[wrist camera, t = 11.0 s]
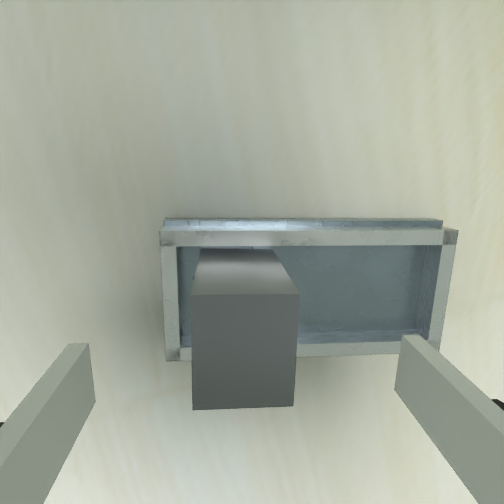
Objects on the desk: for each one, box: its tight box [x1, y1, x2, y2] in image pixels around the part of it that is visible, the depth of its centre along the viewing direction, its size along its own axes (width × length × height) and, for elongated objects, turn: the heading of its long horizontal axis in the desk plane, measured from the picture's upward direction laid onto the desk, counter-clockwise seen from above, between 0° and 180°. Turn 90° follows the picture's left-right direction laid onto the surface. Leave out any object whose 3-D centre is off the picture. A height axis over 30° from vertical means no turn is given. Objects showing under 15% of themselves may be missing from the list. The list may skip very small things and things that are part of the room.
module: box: [190, 248, 300, 410], centre depth 21 cm, size 6×5×9 cm
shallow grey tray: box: [159, 218, 458, 361], centre depth 25 cm, size 10×20×3 cm, turn 89°
